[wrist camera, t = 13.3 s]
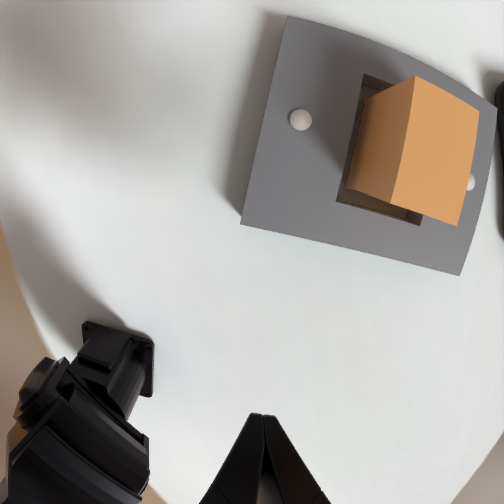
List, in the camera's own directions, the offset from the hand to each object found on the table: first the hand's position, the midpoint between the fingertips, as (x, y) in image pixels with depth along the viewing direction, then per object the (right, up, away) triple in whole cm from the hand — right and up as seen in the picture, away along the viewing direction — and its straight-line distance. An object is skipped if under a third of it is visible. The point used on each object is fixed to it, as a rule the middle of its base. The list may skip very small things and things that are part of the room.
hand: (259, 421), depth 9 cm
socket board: (+8, +12, +8) cm, 17 cm away
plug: (+8, +12, +9) cm, 17 cm away
